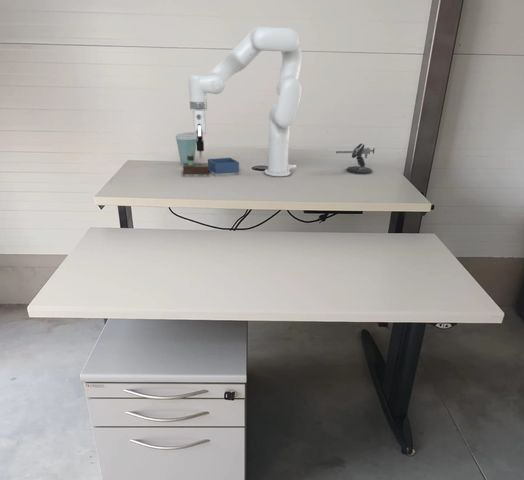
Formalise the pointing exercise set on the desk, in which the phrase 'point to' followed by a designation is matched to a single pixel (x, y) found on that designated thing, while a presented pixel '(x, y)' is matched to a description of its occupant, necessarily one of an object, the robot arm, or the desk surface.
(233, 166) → the tote
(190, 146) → the cup of blue liquid
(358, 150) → the gun turret
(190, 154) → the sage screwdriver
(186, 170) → the rack
